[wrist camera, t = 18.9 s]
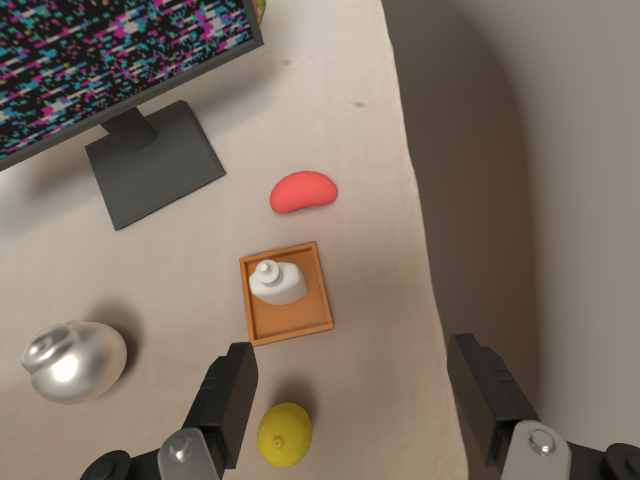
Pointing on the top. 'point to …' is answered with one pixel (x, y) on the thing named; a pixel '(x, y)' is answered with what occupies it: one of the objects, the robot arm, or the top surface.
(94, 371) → the silver rounded lump
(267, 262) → the eye dropper bottle
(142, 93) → the computer monitor
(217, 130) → the top surface
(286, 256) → the amber tray
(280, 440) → the lemon
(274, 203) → the red kidney bean shape
